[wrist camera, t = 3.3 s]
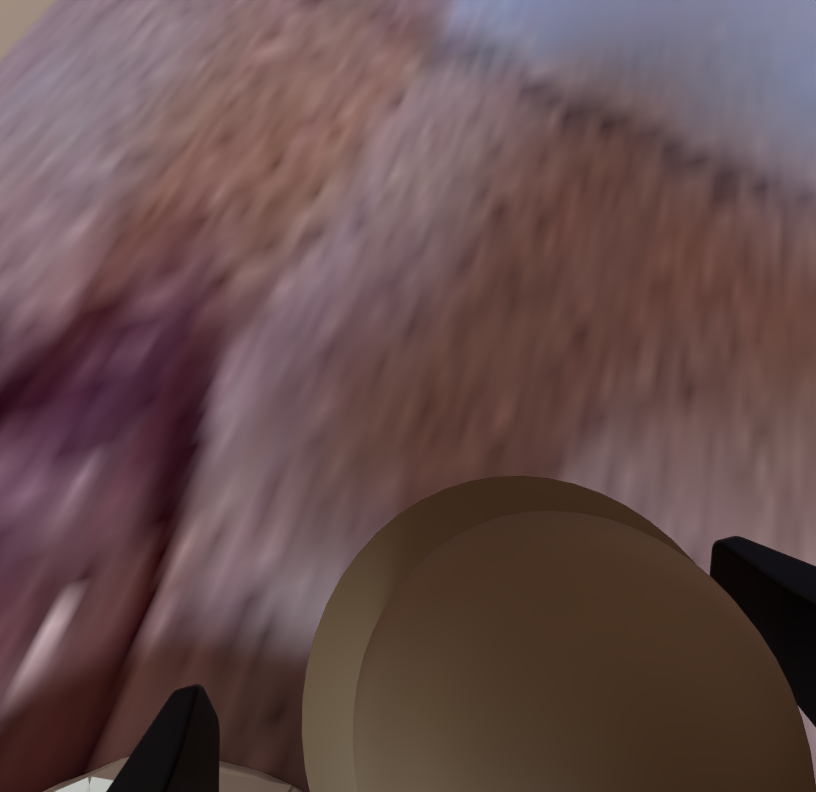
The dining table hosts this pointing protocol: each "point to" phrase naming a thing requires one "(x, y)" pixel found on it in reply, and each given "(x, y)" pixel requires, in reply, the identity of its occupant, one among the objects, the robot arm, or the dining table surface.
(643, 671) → the pepper mill
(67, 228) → the dining table surface
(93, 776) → the dish
